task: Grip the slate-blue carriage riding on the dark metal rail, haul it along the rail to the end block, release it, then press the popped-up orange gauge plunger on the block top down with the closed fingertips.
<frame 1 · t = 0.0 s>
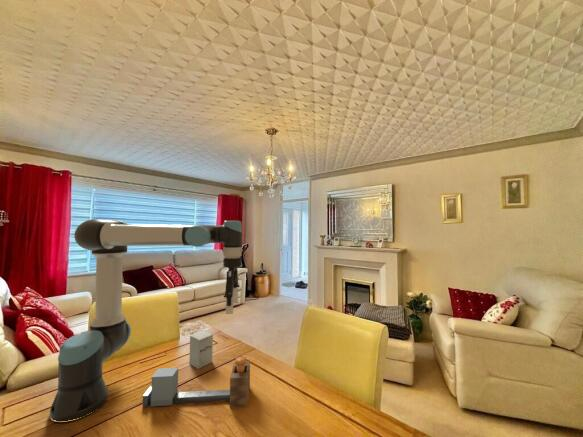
hand: (232, 307, 103), 28 cm above the table, fingers open, 13 cm apart
carriage: (165, 386, 87), point 5 cm above the table, slide at 0.0 cm
supplement box: (201, 363, 111), on the table
end block: (240, 397, 89), on the table
gauge plunger: (240, 368, 90), point 10 cm above the table, slide at 0.0 cm
rail: (190, 399, 88), on the table
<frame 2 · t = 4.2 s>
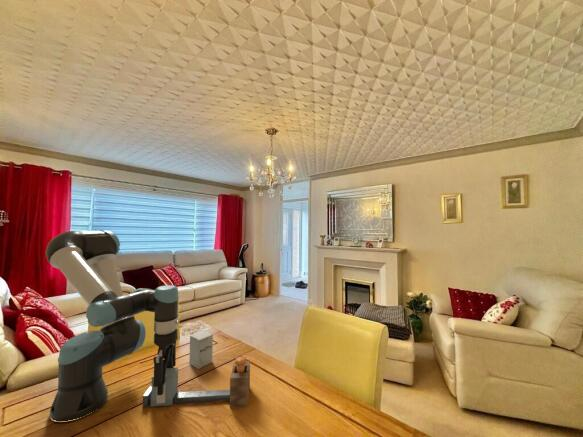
hand: (164, 396, 87), 2 cm above the table, fingers closed on carriage, 5 cm apart
carriage: (165, 386, 87), point 5 cm above the table, slide at 0.0 cm, touching gripper
everything else where it was.
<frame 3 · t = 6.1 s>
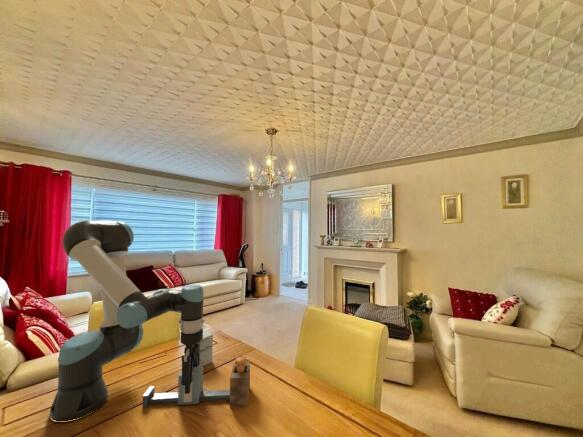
hand: (190, 394, 88), 2 cm above the table, fingers closed on carriage, 5 cm apart
carriage: (191, 384, 88), point 5 cm above the table, slide at 9.0 cm, touching gripper
everything else where it was.
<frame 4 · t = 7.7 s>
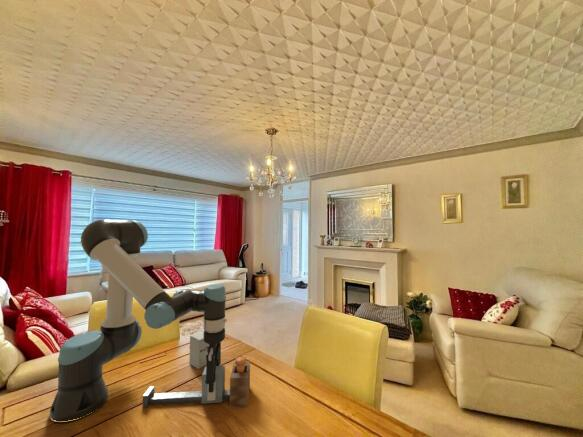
hand: (213, 393, 89), 2 cm above the table, fingers closed on carriage, 5 cm apart
carriage: (213, 383, 89), point 5 cm above the table, slide at 16.9 cm, touching gripper
everything else where it was.
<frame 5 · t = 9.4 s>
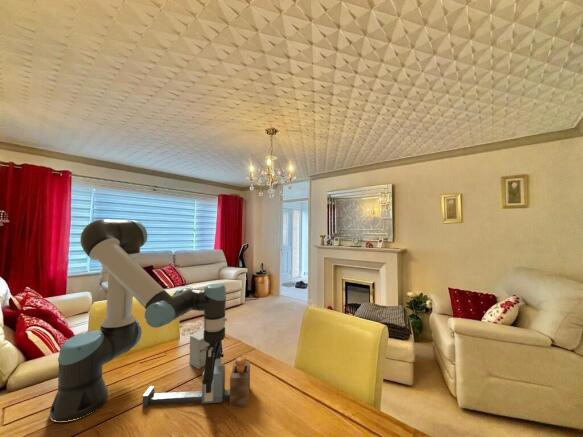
hand: (213, 387, 89), 4 cm above the table, fingers open, 13 cm apart
carriage: (213, 383, 89), point 5 cm above the table, slide at 17.0 cm
everything else where it was.
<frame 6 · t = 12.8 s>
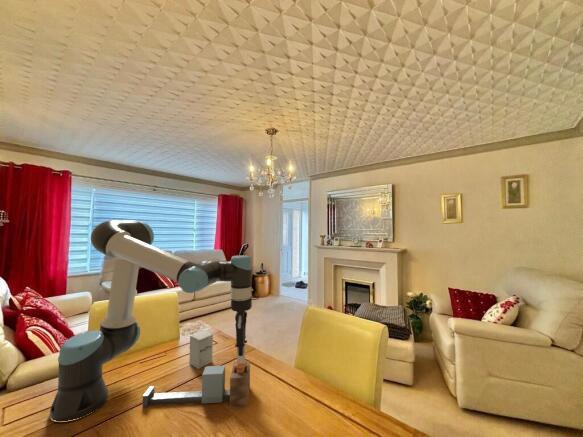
hand: (241, 362, 90), 12 cm above the table, fingers closed
gauge plunger: (240, 372, 90), point 9 cm above the table, slide at 1.5 cm, touching gripper
everything else where it was.
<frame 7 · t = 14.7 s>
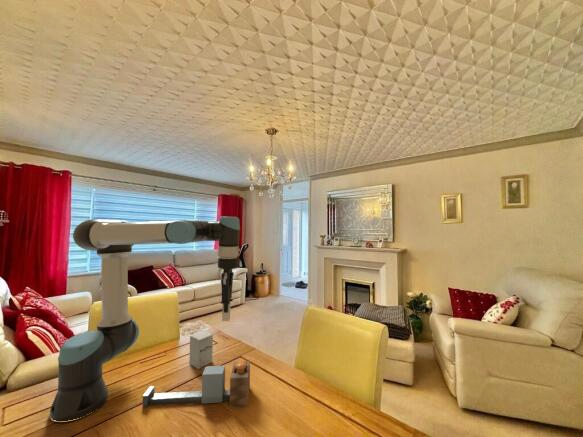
hand: (226, 319, 92), 27 cm above the table, fingers closed
gauge plunger: (240, 373, 90), point 9 cm above the table, slide at 1.9 cm
everything else where it was.
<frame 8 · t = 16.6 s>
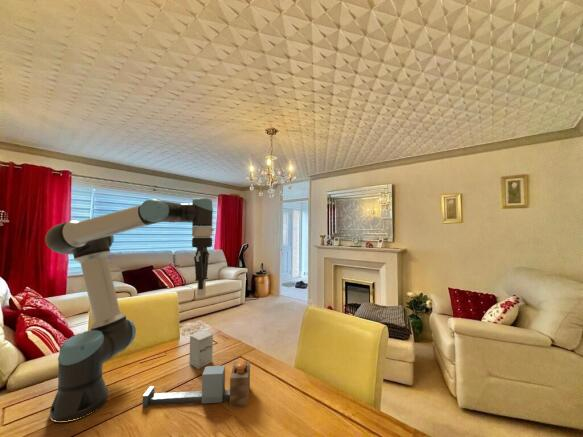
hand: (201, 296, 97), 34 cm above the table, fingers closed
nothing on the table moved.
at the end: carriage slide at 17.0 cm; gauge plunger slide at 1.9 cm; the gripper is holding nothing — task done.
